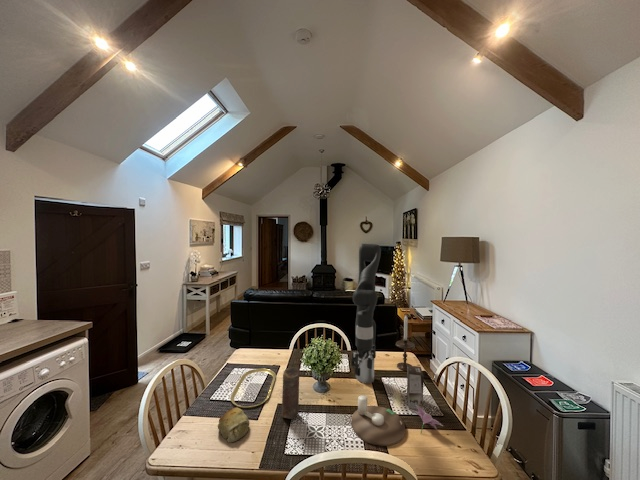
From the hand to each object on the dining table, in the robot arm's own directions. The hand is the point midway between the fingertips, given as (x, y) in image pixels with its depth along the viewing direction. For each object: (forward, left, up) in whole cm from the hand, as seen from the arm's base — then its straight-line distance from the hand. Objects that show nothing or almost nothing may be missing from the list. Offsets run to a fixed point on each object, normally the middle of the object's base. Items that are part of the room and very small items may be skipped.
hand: (363, 371), depth 123 cm
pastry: (-31, -46, -21) cm, 59 cm away
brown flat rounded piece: (+8, 0, -20) cm, 22 cm away
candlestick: (-10, +54, -20) cm, 59 cm away
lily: (+23, +13, -20) cm, 33 cm away
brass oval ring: (-52, -23, -21) cm, 61 cm away
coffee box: (+11, +26, -20) cm, 35 cm away
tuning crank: (+4, 0, -18) cm, 19 cm away
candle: (-22, -23, -20) cm, 38 cm away
